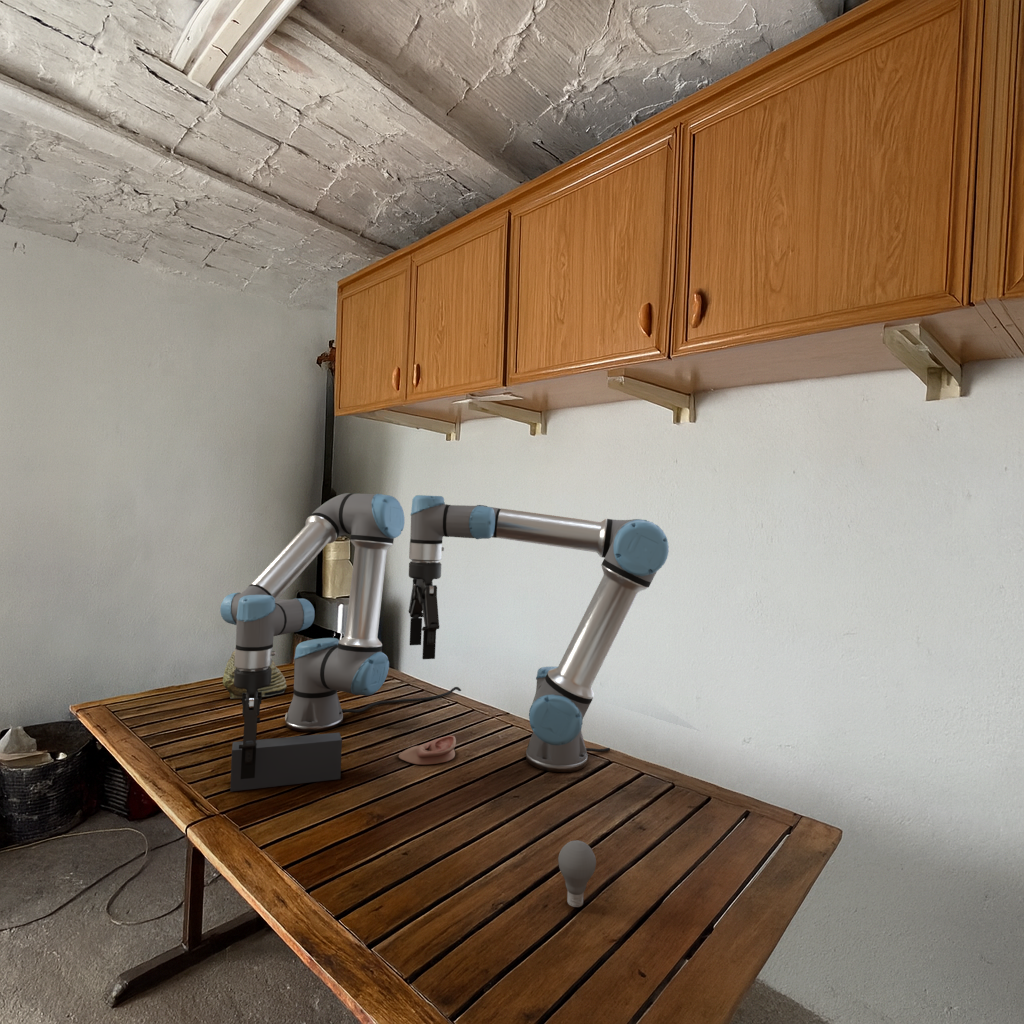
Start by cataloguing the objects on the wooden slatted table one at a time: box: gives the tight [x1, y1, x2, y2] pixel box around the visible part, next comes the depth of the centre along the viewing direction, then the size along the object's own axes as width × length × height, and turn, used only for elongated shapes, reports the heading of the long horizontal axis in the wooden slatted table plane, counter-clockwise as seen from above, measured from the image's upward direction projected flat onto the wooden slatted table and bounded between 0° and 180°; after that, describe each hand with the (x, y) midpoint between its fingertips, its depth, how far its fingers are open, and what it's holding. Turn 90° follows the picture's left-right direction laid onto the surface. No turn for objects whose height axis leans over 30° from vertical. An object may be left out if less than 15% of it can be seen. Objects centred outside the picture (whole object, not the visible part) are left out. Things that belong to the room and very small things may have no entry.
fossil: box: [222, 650, 288, 699], centre depth 198 cm, size 9×18×15 cm, turn 132°
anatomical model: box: [398, 735, 457, 766], centre depth 157 cm, size 13×4×12 cm
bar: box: [230, 732, 343, 793], centre depth 140 cm, size 23×5×9 cm, turn 111°
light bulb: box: [557, 839, 597, 908], centre depth 101 cm, size 6×6×10 cm
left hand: (248, 765), depth 137 cm, fingers open, 13 cm apart
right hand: (421, 651), depth 148 cm, fingers open, 13 cm apart
